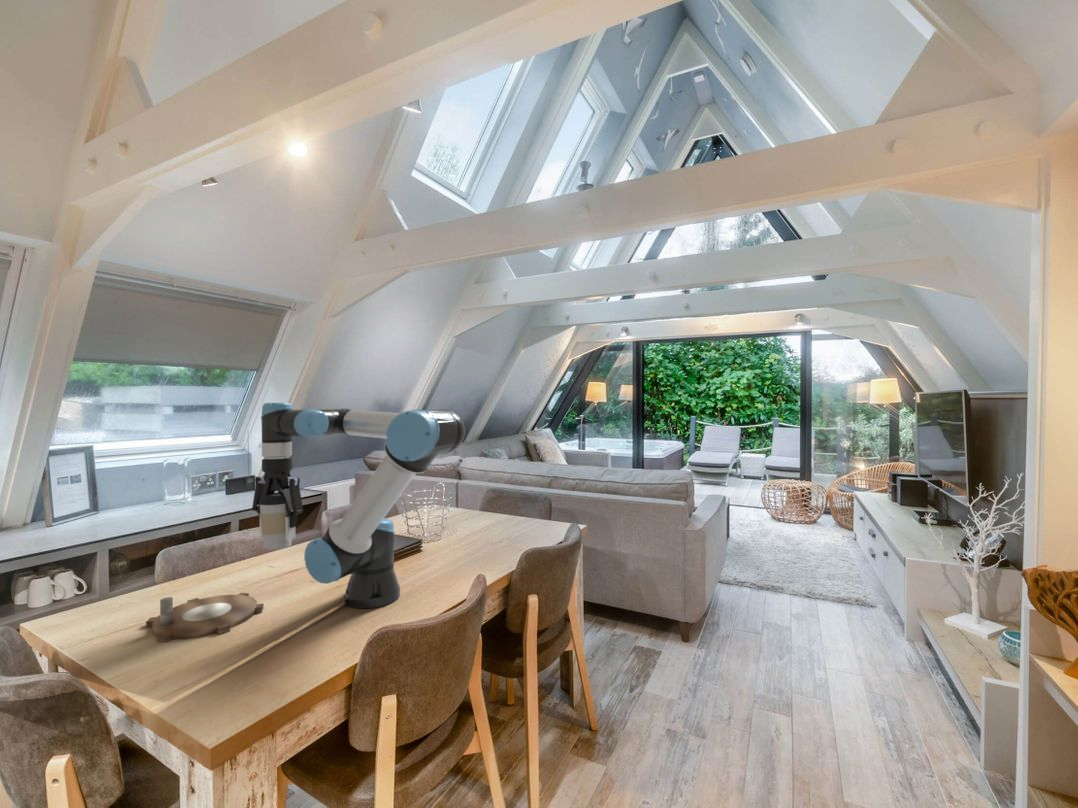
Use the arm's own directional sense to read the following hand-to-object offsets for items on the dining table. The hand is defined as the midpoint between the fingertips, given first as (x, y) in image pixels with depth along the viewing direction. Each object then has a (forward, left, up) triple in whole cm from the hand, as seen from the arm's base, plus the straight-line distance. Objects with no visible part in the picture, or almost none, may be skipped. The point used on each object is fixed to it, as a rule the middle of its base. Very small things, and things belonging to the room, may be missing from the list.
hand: (277, 537), depth 135 cm
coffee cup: (0, 0, -3) cm, 3 cm away
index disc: (+7, +15, -17) cm, 24 cm away
